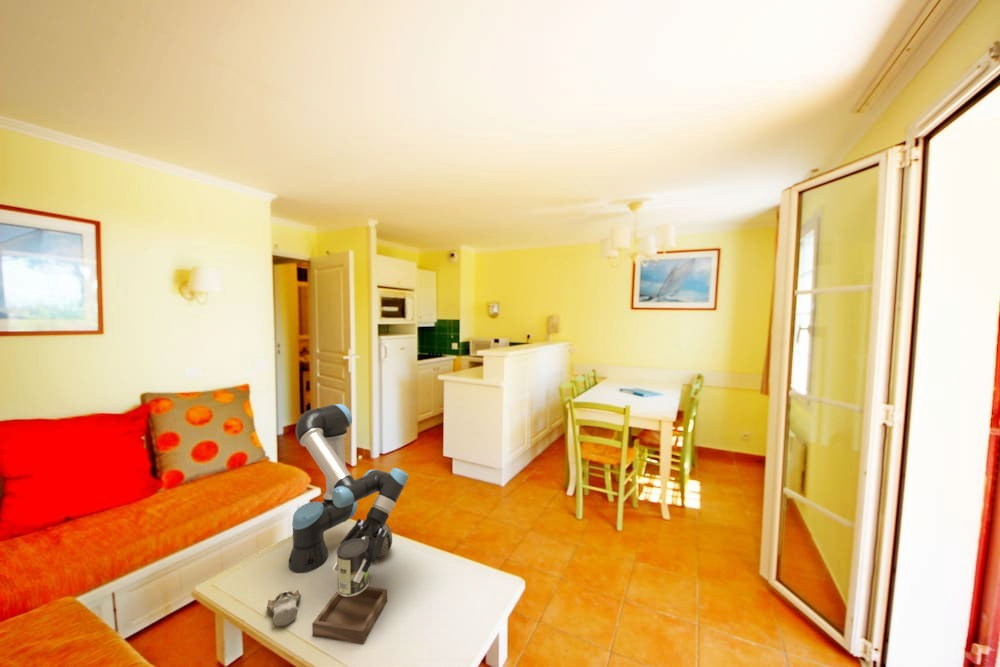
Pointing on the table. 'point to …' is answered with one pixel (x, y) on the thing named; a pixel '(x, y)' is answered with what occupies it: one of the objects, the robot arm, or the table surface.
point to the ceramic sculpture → (284, 607)
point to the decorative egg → (386, 543)
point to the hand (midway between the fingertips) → (345, 576)
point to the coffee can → (351, 566)
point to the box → (350, 616)
